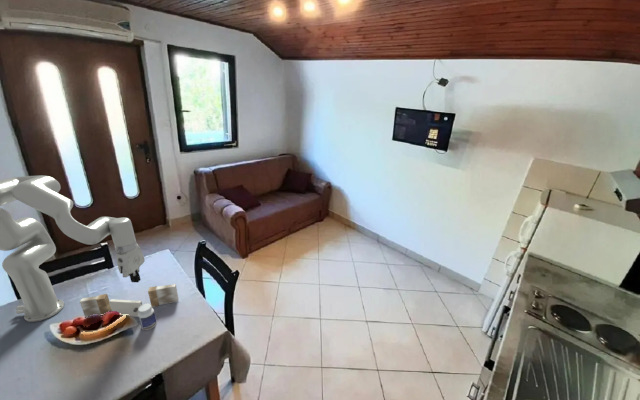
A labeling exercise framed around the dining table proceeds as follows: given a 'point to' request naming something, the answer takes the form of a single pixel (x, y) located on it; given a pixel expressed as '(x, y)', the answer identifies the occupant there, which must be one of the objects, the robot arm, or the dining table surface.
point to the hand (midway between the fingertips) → (136, 281)
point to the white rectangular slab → (125, 306)
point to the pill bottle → (146, 317)
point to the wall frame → (155, 293)
